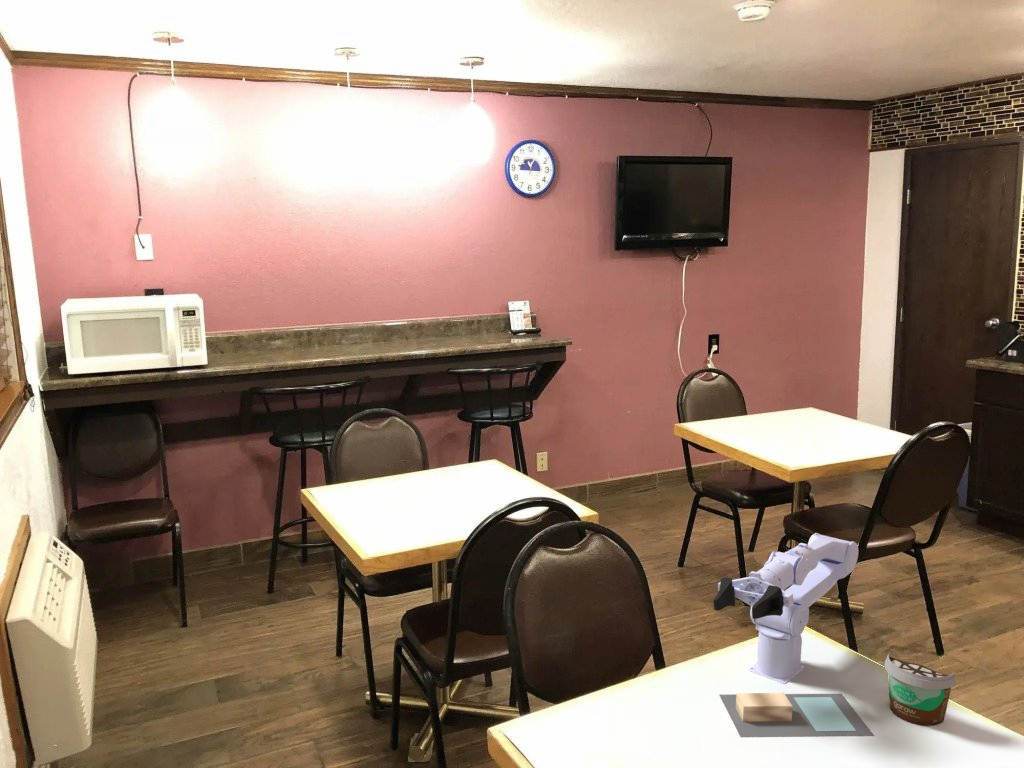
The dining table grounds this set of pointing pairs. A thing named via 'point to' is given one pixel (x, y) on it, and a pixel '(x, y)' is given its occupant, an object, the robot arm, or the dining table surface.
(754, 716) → the tan wooden block
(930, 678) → the food container
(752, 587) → the robot arm
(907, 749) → the dining table surface
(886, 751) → the dining table surface
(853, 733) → the mat
